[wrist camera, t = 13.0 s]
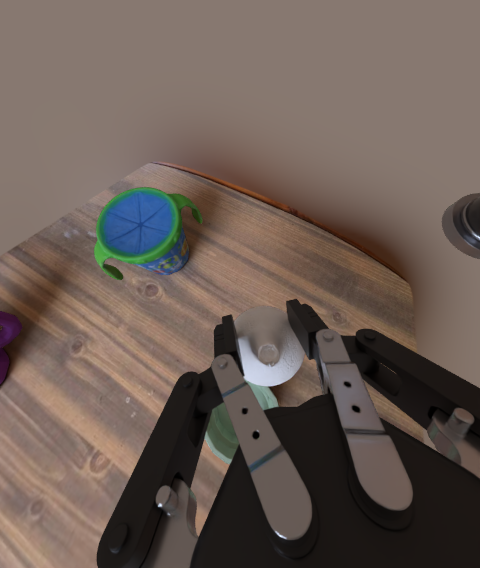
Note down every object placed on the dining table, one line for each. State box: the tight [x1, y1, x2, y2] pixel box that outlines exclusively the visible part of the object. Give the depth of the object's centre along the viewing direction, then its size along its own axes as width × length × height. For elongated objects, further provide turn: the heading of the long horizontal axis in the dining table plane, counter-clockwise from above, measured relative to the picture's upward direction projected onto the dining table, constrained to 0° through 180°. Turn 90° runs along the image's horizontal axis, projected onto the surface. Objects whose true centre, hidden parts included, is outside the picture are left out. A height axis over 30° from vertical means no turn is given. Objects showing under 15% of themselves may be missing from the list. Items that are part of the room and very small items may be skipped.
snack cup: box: [94, 187, 202, 280], centre depth 29 cm, size 16×10×10 cm
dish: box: [205, 379, 279, 464], centre depth 25 cm, size 9×9×5 cm
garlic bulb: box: [234, 306, 305, 386], centre depth 14 cm, size 6×6×8 cm
